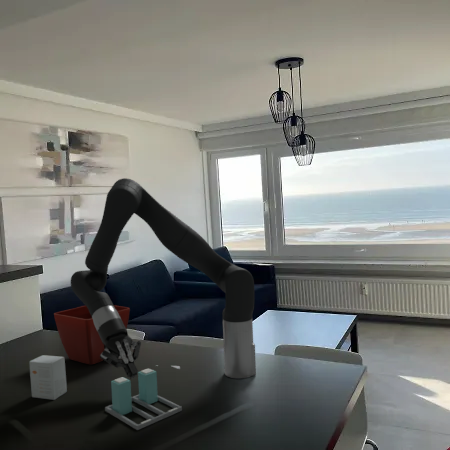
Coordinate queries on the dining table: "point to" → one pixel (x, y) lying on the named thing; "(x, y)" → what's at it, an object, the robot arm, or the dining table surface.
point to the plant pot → (83, 333)
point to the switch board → (144, 414)
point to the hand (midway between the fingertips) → (133, 376)
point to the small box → (48, 377)
